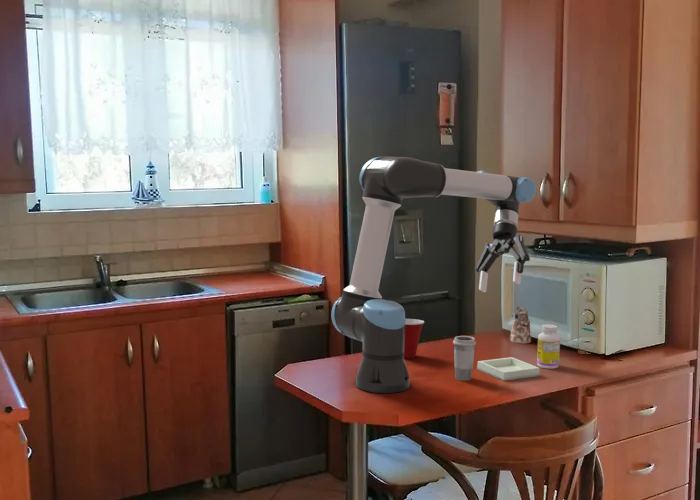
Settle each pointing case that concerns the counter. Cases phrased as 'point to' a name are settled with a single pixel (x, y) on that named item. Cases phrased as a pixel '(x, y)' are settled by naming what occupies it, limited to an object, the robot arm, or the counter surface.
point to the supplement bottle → (548, 347)
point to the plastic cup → (412, 337)
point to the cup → (463, 357)
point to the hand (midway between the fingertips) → (499, 287)
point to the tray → (508, 368)
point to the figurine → (521, 327)
